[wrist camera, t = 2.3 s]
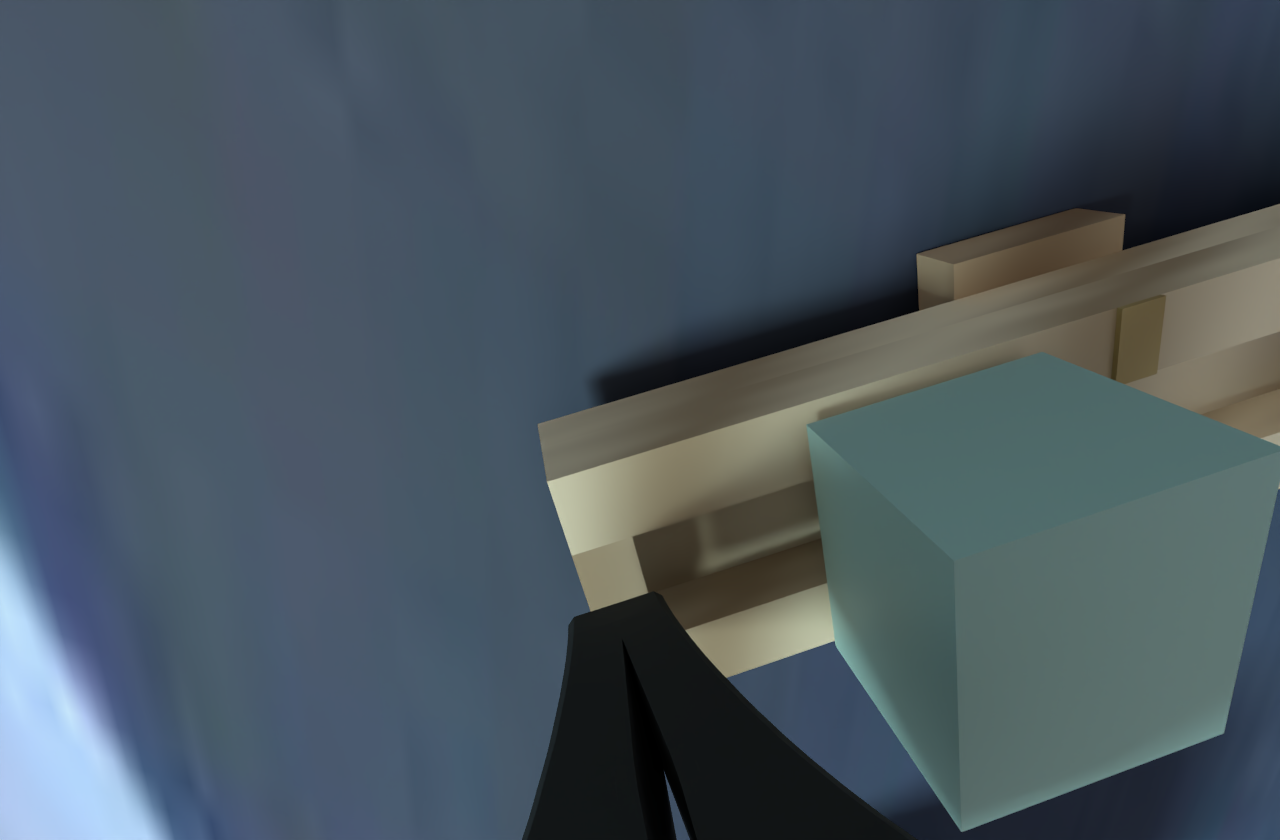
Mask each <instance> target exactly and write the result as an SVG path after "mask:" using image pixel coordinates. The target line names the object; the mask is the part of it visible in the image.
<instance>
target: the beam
mask: <svg viewBox="0 0 1280 840" xmlns="http://www.w3.org/2000/svg"><path fill="white" fill-rule="evenodd" d="M1124 225H1125V214H1118V213H1110V212H1103V211H1095V210H1087V209H1079V208H1074V209H1071V210H1067V211H1064V212H1060V213H1057V214H1053V215H1050V216H1046V217H1043V218H1040V219H1036V220H1033V221H1029V222H1026V223H1022V224H1019V225H1015V226H1012V227H1008V228H1005V229H1001V230H998V231H994V232H991V233H987V234H984V235H981V236H977V237H974V238H970V239H967V240H963V241H960V242H956V243H953V244H949V245H946V246H942V247H939V248H935V249H932V250H928V251H925V252H921V253H918V254H917V275H918V297H919V311H917V312H914V313H910V314H907V315H903V316H900V317H897V318H893V319H890V320H887V321H883V322H880V323H877V324H873V325H870V326H866V327H863V328H860V329H856V330H853V331H850V332H846V333H843V334H839V335H836V336H833V337H829V338H826V339H823V340H819V341H816V342H812V343H809V344H806V345H802V346H799V347H796V348H792V349H789V350H786V351H782V352H779V353H775V354H772V355H769V356H765V357H762V358H759V359H755V360H752V361H748V362H745V363H742V364H738V365H735V366H732V367H728V368H725V369H721V370H718V371H715V372H711V373H708V374H705V375H701V376H698V377H695V378H691V379H688V380H684V381H681V382H678V383H674V384H671V385H668V386H664V387H661V388H657V389H654V390H651V391H647V392H644V393H641V394H637V395H634V396H630V397H627V398H624V399H620V400H617V401H614V402H610V403H607V404H604V405H600V406H597V407H593V408H590V409H587V410H583V411H580V412H577V413H573V414H570V415H566V416H563V417H560V418H556V419H553V420H550V421H546V422H543V423H539V424H538V430H539V436H540V442H541V448H542V454H543V460H544V466H545V472H546V478H547V483H548V486H549V489H550V492H551V495H552V498H553V501H554V504H555V507H556V510H557V513H558V516H559V519H560V522H561V525H562V528H563V531H564V534H565V537H566V540H567V543H568V545H569V548H570V551H571V554H572V557H573V560H574V563H575V566H576V569H577V572H578V575H579V578H580V581H581V584H582V587H583V590H584V593H585V596H586V599H587V602H588V605H589V608H590V611H594V610H597V609H600V608H603V607H606V606H610V605H613V604H616V603H619V602H622V601H625V600H628V599H631V598H634V597H637V596H640V595H643V594H646V593H650V592H653V591H654V592H656V593H659V594H661V595H662V596H663V598H664V600H665V601H666V603H667V605H668V606H669V608H670V610H671V611H672V613H673V614H674V616H675V617H676V619H677V620H678V621H679V623H680V624H681V625H682V627H683V628H684V629H685V631H686V632H687V633H688V635H689V636H690V637H691V638H692V640H693V641H694V642H695V643H696V645H697V646H698V647H699V648H700V649H701V651H702V652H703V653H704V654H705V655H706V656H707V658H708V659H709V660H710V661H711V662H712V663H713V664H714V665H715V666H716V668H717V669H718V670H719V671H720V672H721V673H722V674H723V675H724V676H725V677H726V678H727V677H730V676H733V675H736V674H739V673H742V672H745V671H748V670H750V669H753V668H756V667H759V666H762V665H765V664H768V663H771V662H774V661H777V660H780V659H783V658H786V657H788V656H791V655H794V654H797V653H800V652H803V651H806V650H809V649H812V648H815V647H818V646H821V645H824V644H827V643H829V642H832V641H835V637H834V630H833V622H832V615H831V607H830V600H829V592H828V585H827V577H826V570H825V562H824V555H823V547H822V540H821V532H820V525H819V517H818V510H817V502H816V494H815V487H814V479H813V472H812V464H811V457H810V449H809V442H808V434H807V427H806V424H810V423H813V422H816V421H819V420H823V419H826V418H829V417H832V416H836V415H839V414H842V413H845V412H849V411H852V410H855V409H858V408H862V407H865V406H868V405H871V404H874V403H878V402H881V401H884V400H887V399H891V398H894V397H897V396H900V395H904V394H907V393H910V392H913V391H917V390H920V389H923V388H926V387H930V386H933V385H936V384H939V383H943V382H946V381H949V380H952V379H955V378H959V377H962V376H965V375H968V374H972V373H975V372H978V371H981V370H985V369H988V368H991V367H994V366H998V365H1001V364H1004V363H1007V362H1011V361H1014V360H1017V359H1020V358H1024V357H1027V356H1030V355H1033V354H1037V353H1040V352H1044V353H1047V354H1049V355H1052V356H1054V357H1057V358H1059V359H1062V360H1064V361H1067V362H1069V363H1072V364H1074V365H1077V366H1079V367H1082V368H1084V369H1087V370H1090V371H1092V372H1095V373H1097V374H1100V375H1102V376H1105V377H1107V378H1110V379H1112V380H1115V381H1117V382H1120V383H1122V384H1125V385H1127V386H1130V387H1132V388H1135V389H1137V390H1140V391H1142V392H1145V393H1147V394H1150V395H1152V396H1155V397H1158V398H1160V399H1163V400H1165V401H1168V402H1170V403H1173V404H1175V405H1178V406H1180V407H1183V408H1185V409H1188V410H1190V411H1193V412H1195V413H1198V414H1200V415H1203V416H1205V417H1208V418H1210V419H1213V420H1215V421H1218V422H1221V423H1223V424H1226V425H1228V426H1231V427H1233V428H1236V429H1238V430H1241V431H1243V432H1246V433H1248V434H1251V435H1253V436H1256V437H1258V438H1261V439H1263V440H1266V441H1268V442H1271V443H1273V444H1276V445H1278V446H1280V204H1278V205H1274V206H1271V207H1267V208H1264V209H1261V210H1257V211H1254V212H1251V213H1247V214H1244V215H1240V216H1237V217H1234V218H1230V219H1227V220H1224V221H1220V222H1217V223H1214V224H1210V225H1207V226H1203V227H1200V228H1197V229H1193V230H1190V231H1187V232H1183V233H1180V234H1176V235H1173V236H1170V237H1166V238H1163V239H1160V240H1156V241H1153V242H1150V243H1146V244H1143V245H1139V246H1136V247H1133V248H1129V249H1126V250H1123V251H1122V248H1123V236H1124ZM1278 489H1280V483H1279V487H1278Z"/></svg>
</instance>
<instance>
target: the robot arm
mask: <svg viewBox="0 0 1280 840" xmlns="http://www.w3.org/2000/svg"><path fill="white" fill-rule="evenodd" d="M664 772H665V774H666V777H667V780H668V782H669V785H670V788H671V790H672V793H673V796H674V798H675V801H676V803H677V806H678V809H679V811H680V814H681V817H682V819H683V822H684V825H685V827H686V830H687V833H688V835H689V838H690V840H917V839H916V838H915V837H913V836H912V835H910V834H909V833H907V832H906V831H904V830H903V829H902V828H900V827H899V826H897V825H896V824H894V823H893V822H891V821H890V820H888V819H887V818H886V817H884V816H883V815H882V814H880V813H879V812H878V811H876V810H875V809H874V808H872V807H871V806H870V805H869V804H867V803H866V802H865V801H863V800H862V799H861V798H859V797H858V796H857V795H856V794H854V793H853V792H852V791H850V790H849V789H848V788H846V787H845V786H844V785H843V784H841V783H840V782H839V781H838V780H836V779H835V778H834V777H833V776H832V775H830V774H829V773H828V772H827V771H825V770H824V769H823V768H822V767H820V766H819V765H818V764H817V763H816V762H814V761H813V760H812V759H811V758H810V757H808V756H807V755H806V754H805V753H804V752H803V751H802V750H800V749H799V748H798V747H797V746H796V745H795V744H794V743H792V742H791V741H790V740H789V739H788V738H787V737H786V736H785V735H784V734H782V733H781V732H780V731H779V730H778V729H777V728H776V727H775V726H774V725H773V724H772V723H771V722H770V721H769V720H767V719H766V718H765V717H764V716H763V715H762V714H761V713H760V712H759V711H758V710H757V709H756V708H755V707H754V706H753V705H752V704H751V703H750V702H749V701H748V700H747V699H746V698H745V697H744V696H743V695H742V694H741V693H740V692H739V691H738V690H737V689H736V688H735V687H734V686H733V685H732V684H731V683H730V682H729V680H728V679H727V678H726V677H725V676H724V675H723V674H722V673H721V672H720V671H719V670H718V669H717V668H716V666H715V665H714V664H713V663H712V662H711V661H710V660H709V659H708V658H707V656H706V655H705V654H704V653H703V652H702V651H701V649H700V648H699V647H698V646H697V645H696V643H695V642H694V641H693V640H692V638H691V637H690V636H689V635H688V633H687V632H686V631H685V629H684V628H683V627H682V625H681V624H680V623H679V621H678V620H677V619H676V617H675V616H674V614H673V613H672V611H671V610H670V608H669V606H668V605H667V603H666V601H665V600H664V598H663V596H662V595H661V594H659V593H656V592H654V591H653V592H650V593H646V594H643V595H640V596H637V597H634V598H631V599H628V600H625V601H622V602H619V603H616V604H613V605H610V606H606V607H603V608H600V609H597V610H594V611H591V612H588V613H585V614H582V615H579V616H576V617H574V618H573V619H572V621H571V623H570V624H569V628H568V645H567V655H566V663H565V670H564V676H563V682H562V688H561V693H560V699H559V703H558V708H557V712H556V717H555V722H554V726H553V731H552V735H551V740H550V744H549V748H548V752H547V756H546V760H545V764H544V767H543V771H542V774H541V778H540V781H539V785H538V788H537V792H536V796H535V799H534V803H533V806H532V810H531V813H530V816H529V820H528V823H527V826H526V829H525V832H524V835H523V838H522V840H676V834H675V829H674V823H673V818H672V812H671V807H670V801H669V796H668V791H667V785H666V780H665V774H664Z"/></svg>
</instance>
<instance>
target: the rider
mask: <svg viewBox="0 0 1280 840" xmlns="http://www.w3.org/2000/svg"><path fill="white" fill-rule="evenodd" d="M806 427H807V434H808V442H809V449H810V457H811V464H812V472H813V479H814V487H815V494H816V502H817V510H818V517H819V525H820V532H821V540H822V547H823V555H824V562H825V570H826V577H827V585H828V592H829V600H830V607H831V615H832V622H833V630H834V637H835V645H836V647H837V649H838V650H839V652H840V653H841V655H842V656H843V657H844V659H845V660H846V662H847V663H848V665H849V666H850V668H851V669H852V671H853V672H854V674H855V675H856V677H857V678H858V680H859V681H860V683H861V684H862V686H863V687H864V689H865V690H866V692H867V693H868V695H869V696H870V698H871V699H872V700H873V702H874V703H875V705H876V706H877V708H878V709H879V711H880V712H881V714H882V715H883V717H884V718H885V720H886V721H887V723H888V724H889V726H890V727H891V729H892V730H893V732H894V733H895V735H896V736H897V738H898V739H899V740H900V742H901V743H902V745H903V746H904V748H905V749H906V751H907V752H908V754H909V755H910V757H911V758H912V760H913V761H914V763H915V764H916V766H917V767H918V769H919V770H920V772H921V773H922V775H923V776H924V778H925V779H926V781H927V782H928V783H929V785H930V786H931V788H932V789H933V791H934V792H935V794H936V795H937V797H938V798H939V800H940V801H941V803H942V804H943V806H944V807H945V809H946V810H947V812H948V813H949V815H950V816H951V818H952V819H953V821H954V822H955V824H956V825H957V826H958V828H959V829H960V831H961V832H964V831H966V830H969V829H972V828H974V827H977V826H980V825H982V824H985V823H988V822H990V821H993V820H996V819H998V818H1001V817H1004V816H1006V815H1009V814H1012V813H1014V812H1017V811H1020V810H1022V809H1025V808H1027V807H1030V806H1033V805H1035V804H1038V803H1041V802H1043V801H1046V800H1049V799H1051V798H1054V797H1057V796H1059V795H1062V794H1065V793H1067V792H1070V791H1073V790H1075V789H1078V788H1080V787H1083V786H1086V785H1088V784H1091V783H1094V782H1096V781H1099V780H1102V779H1104V778H1107V777H1110V776H1112V775H1115V774H1118V773H1120V772H1123V771H1126V770H1128V769H1131V768H1134V767H1136V766H1139V765H1141V764H1144V763H1147V762H1149V761H1152V760H1155V759H1157V758H1160V757H1163V756H1165V755H1168V754H1171V753H1173V752H1176V751H1179V750H1181V749H1184V748H1187V747H1189V746H1192V745H1194V744H1197V743H1200V742H1202V741H1205V740H1208V739H1210V738H1213V737H1216V736H1218V735H1221V734H1224V730H1225V726H1226V721H1227V717H1228V712H1229V708H1230V703H1231V699H1232V694H1233V690H1234V685H1235V681H1236V676H1237V672H1238V667H1239V663H1240V658H1241V654H1242V649H1243V645H1244V640H1245V636H1246V631H1247V627H1248V622H1249V618H1250V613H1251V609H1252V604H1253V600H1254V595H1255V591H1256V586H1257V582H1258V577H1259V573H1260V568H1261V564H1262V559H1263V555H1264V550H1265V546H1266V541H1267V537H1268V532H1269V528H1270V523H1271V519H1272V514H1273V510H1274V505H1275V501H1276V496H1277V492H1278V487H1279V483H1280V446H1278V445H1276V444H1273V443H1271V442H1268V441H1266V440H1263V439H1261V438H1258V437H1256V436H1253V435H1251V434H1248V433H1246V432H1243V431H1241V430H1238V429H1236V428H1233V427H1231V426H1228V425H1226V424H1223V423H1221V422H1218V421H1215V420H1213V419H1210V418H1208V417H1205V416H1203V415H1200V414H1198V413H1195V412H1193V411H1190V410H1188V409H1185V408H1183V407H1180V406H1178V405H1175V404H1173V403H1170V402H1168V401H1165V400H1163V399H1160V398H1158V397H1155V396H1152V395H1150V394H1147V393H1145V392H1142V391H1140V390H1137V389H1135V388H1132V387H1130V386H1127V385H1125V384H1122V383H1120V382H1117V381H1115V380H1112V379H1110V378H1107V377H1105V376H1102V375H1100V374H1097V373H1095V372H1092V371H1090V370H1087V369H1084V368H1082V367H1079V366H1077V365H1074V364H1072V363H1069V362H1067V361H1064V360H1062V359H1059V358H1057V357H1054V356H1052V355H1049V354H1047V353H1044V352H1040V353H1037V354H1033V355H1030V356H1027V357H1024V358H1020V359H1017V360H1014V361H1011V362H1007V363H1004V364H1001V365H998V366H994V367H991V368H988V369H985V370H981V371H978V372H975V373H972V374H968V375H965V376H962V377H959V378H955V379H952V380H949V381H946V382H943V383H939V384H936V385H933V386H930V387H926V388H923V389H920V390H917V391H913V392H910V393H907V394H904V395H900V396H897V397H894V398H891V399H887V400H884V401H881V402H878V403H874V404H871V405H868V406H865V407H862V408H858V409H855V410H852V411H849V412H845V413H842V414H839V415H836V416H832V417H829V418H826V419H823V420H819V421H816V422H813V423H810V424H806Z"/></svg>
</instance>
